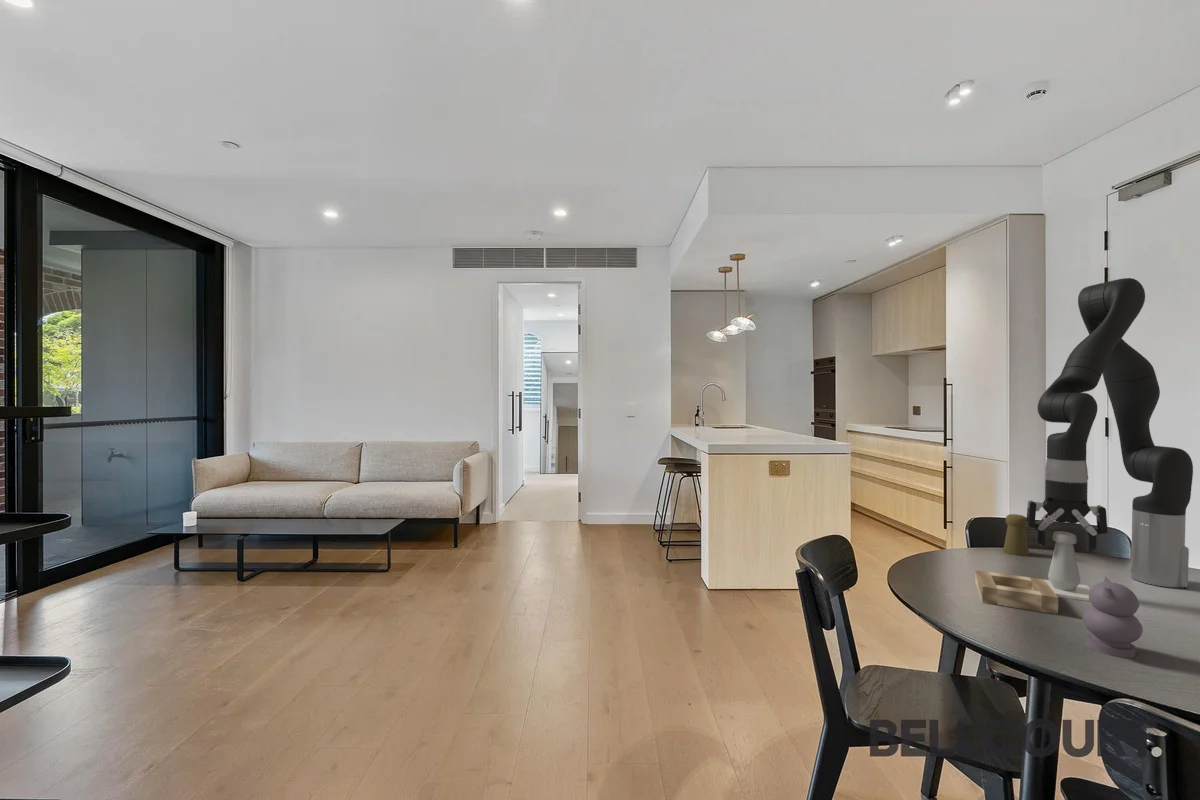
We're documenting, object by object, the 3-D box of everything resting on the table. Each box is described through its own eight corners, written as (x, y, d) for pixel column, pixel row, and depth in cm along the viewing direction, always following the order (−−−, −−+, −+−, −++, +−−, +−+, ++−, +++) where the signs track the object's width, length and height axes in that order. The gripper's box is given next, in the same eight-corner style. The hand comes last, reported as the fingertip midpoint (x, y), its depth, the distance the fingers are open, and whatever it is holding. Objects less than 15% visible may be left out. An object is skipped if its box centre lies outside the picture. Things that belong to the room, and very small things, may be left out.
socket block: (1043, 594, 126) (1044, 579, 126) (1057, 614, 115) (1058, 597, 115) (975, 584, 132) (975, 570, 132) (982, 602, 121) (982, 586, 121)
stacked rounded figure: (1142, 665, 93) (1144, 594, 93) (1081, 650, 99) (1082, 583, 98) (1141, 648, 99) (1143, 582, 99) (1083, 635, 105) (1084, 572, 105)
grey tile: (1086, 587, 131) (1086, 585, 131) (1101, 603, 121) (1101, 600, 121) (1028, 579, 136) (1028, 577, 136) (1038, 593, 127) (1038, 591, 127)
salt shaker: (1067, 584, 132) (1068, 529, 131) (1086, 593, 126) (1088, 536, 126) (1041, 583, 132) (1042, 529, 132) (1059, 592, 126) (1060, 535, 126)
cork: (1010, 555, 157) (1011, 516, 157) (998, 549, 163) (999, 512, 163) (1034, 556, 156) (1034, 517, 156) (1021, 550, 162) (1022, 513, 162)
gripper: (1100, 478, 128) (1100, 548, 129) (1024, 474, 135) (1023, 540, 135) (1112, 483, 122) (1111, 557, 122) (1031, 478, 128) (1030, 548, 129)
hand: (1065, 548), depth 129 cm, fingers open, 8 cm apart
